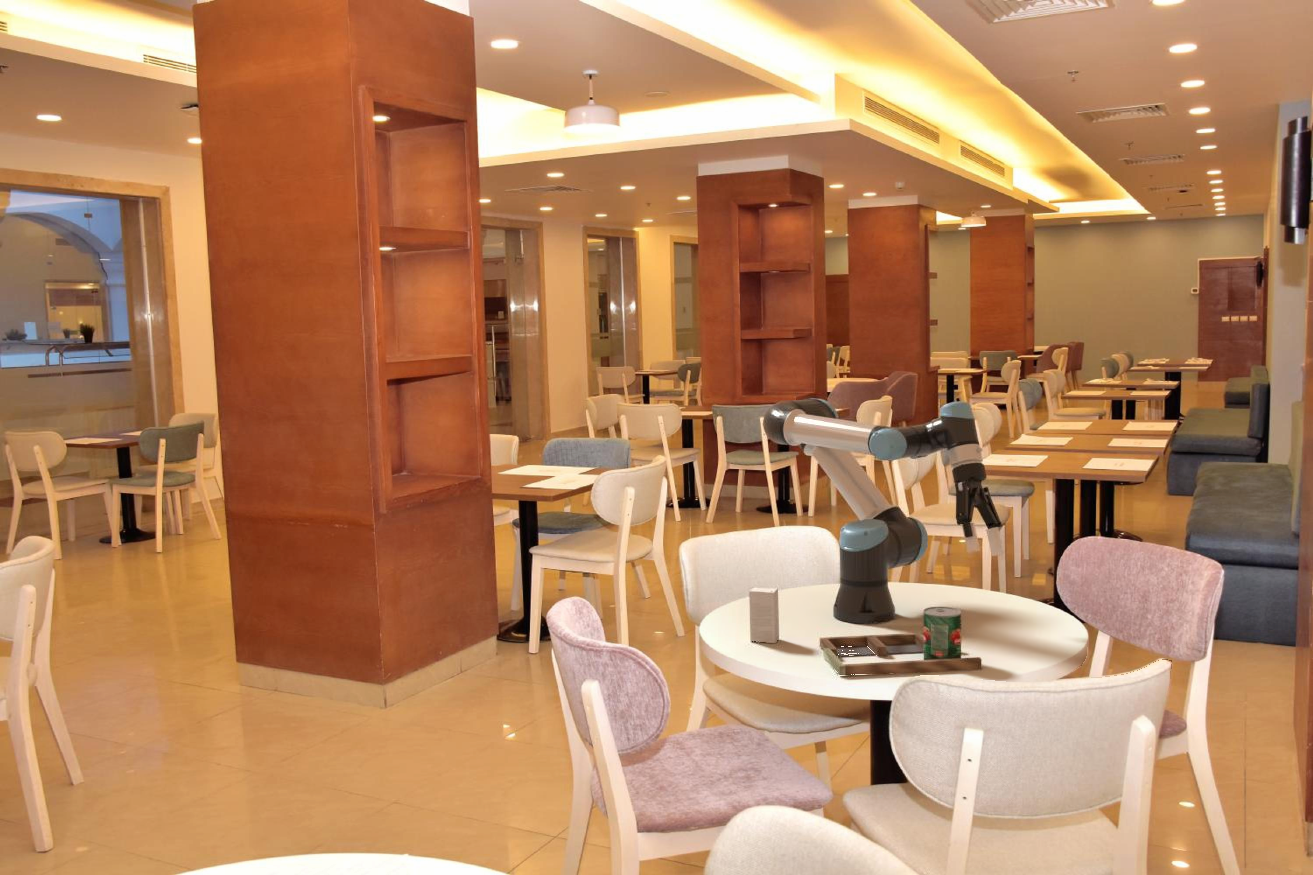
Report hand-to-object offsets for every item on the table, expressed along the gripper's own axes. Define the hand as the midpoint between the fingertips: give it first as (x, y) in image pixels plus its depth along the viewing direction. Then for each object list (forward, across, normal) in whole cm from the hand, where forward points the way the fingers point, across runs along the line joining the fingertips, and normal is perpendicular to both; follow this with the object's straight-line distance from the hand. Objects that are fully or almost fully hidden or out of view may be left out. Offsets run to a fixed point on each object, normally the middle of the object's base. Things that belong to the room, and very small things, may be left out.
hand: (986, 553), depth 259 cm
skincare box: (+13, -31, +44) cm, 55 cm away
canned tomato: (+24, -22, +6) cm, 33 cm away
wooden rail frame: (+22, -26, +15) cm, 37 cm away
